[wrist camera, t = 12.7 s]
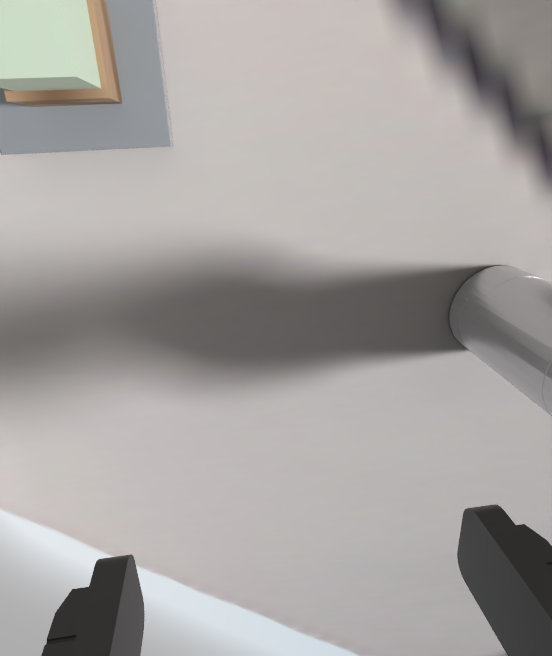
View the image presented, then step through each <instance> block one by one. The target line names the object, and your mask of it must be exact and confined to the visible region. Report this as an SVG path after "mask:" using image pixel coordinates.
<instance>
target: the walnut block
mask: <svg viewBox="0 0 552 656" xmlns="http://www.w3.org/2000/svg"><path fill="white" fill-rule="evenodd" d="M86 1H87V7H88V13H89V19H90V25H91V31H92V36H93V42H94V48H95V54H96V60H97V66H98V72H99V78H100V84H101V89H74V90H44V91H11V90H7V89H4V93H5V97H6V101H7V102H11V103H16V104H22V105H27V106H33V107H45V106H71V105H97V104H122V97H121V91H120V84H119V78H118V71H117V65H116V59H115V52H114V46H113V40H112V33H111V27H110V20H109V14H108V8H107V3H106V2H105V0H86Z"/></svg>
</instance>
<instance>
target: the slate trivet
mask: <svg viewBox="0 0 552 656" xmlns="http://www.w3.org/2000/svg"><path fill="white" fill-rule="evenodd" d="M105 2H106V3H107V8H108V14H109V20H110V27H111V33H112V40H113V46H114V52H115V59H116V65H117V71H118V78H119V84H120V91H121V97H122V104H97V105H71V106H45V107H33V106H27V105H22V104H16V103H11V102H7V101H6V97H5V93H4V89H3V88H0V151H1V155H7V154H27V153H47V152H67V151H87V150H107V149H127V148H147V147H167V146H173V140H172V132H171V123H170V115H169V107H168V99H167V91H166V82H165V74H164V66H163V58H162V50H161V42H160V33H159V25H158V17H157V9H156V1H155V0H105Z"/></svg>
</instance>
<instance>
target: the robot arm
mask: <svg viewBox="0 0 552 656" xmlns="http://www.w3.org/2000/svg"><path fill="white" fill-rule="evenodd" d="M449 322H450V327H451V330H452V332H453V334H454V336H455V338H456V339H457V340H458V341H459V342H460V343H461V344H462V345H464V346H465V347H466V348H467V349H469V350H470V351H471V352H472V353H474V354H475V355H476V356H477V357H479V358H480V359H481V360H482V361H483V362H485V363H486V364H487V365H488V366H490V367H491V368H492V369H493V370H495V371H496V372H497V373H498V374H500V375H501V376H502V377H503V378H505V379H506V380H507V381H508V382H510V383H511V384H512V385H513V386H515V387H516V388H517V389H518V390H520V391H521V392H522V393H523V394H525V395H526V396H527V397H528V398H530V399H531V400H532V401H533V402H535V403H536V404H537V405H538V406H540V407H541V408H542V409H543V410H545V411H546V412H547V413H548V414H550V415H551V416H552V283H551V282H548V281H546V280H544V279H541V278H539V277H536V276H533V275H531V274H528V273H526V272H523V271H521V270H518V269H516V268H514V267H510V266H504V265H503V266H493V267H489V268H486V269H484V270H482V271H480V272H478V273H476V274H474V275H473V276H472V277H470V278H469V279H468V280H467V281H466V282H465V283H464V284H463V285H462V286H461V287H460V289H459V290H458V292H457V294H456V295H455V297H454V300H453V302H452V304H451V309H450V313H449ZM457 556H458V564H459V568H460V571H461V574H462V577H463V579H464V581H465V583H466V584H467V586H468V588H469V590H470V591H471V593H472V595H473V596H474V598H475V600H476V602H477V603H478V605H479V607H480V608H481V610H482V612H483V614H484V615H485V617H486V619H487V620H488V622H489V624H490V626H491V627H492V629H493V631H494V632H495V634H496V636H497V638H498V639H499V641H500V643H501V645H502V646H503V648H504V650H505V651H506V653H507V655H508V656H552V546H551V545H550V544H549V542H548V541H547V540H546V539H544V538H543V537H541V536H540V535H539V534H537V533H536V532H534V531H533V530H532V529H530V528H529V527H527V526H526V525H525V524H523V525H515V524H514V522H513V521H512V520H511V519H510V517H509V516H508V515H507V514H506V512H505V511H504V510H503V509H502V508H501V507H500V506H498V505H488V506H481V507H474V508H467V509H465V511H464V513H463V519H462V526H461V532H460V539H459V546H458V554H457ZM143 630H144V602H143V596H142V592H141V587H140V583H139V578H138V574H137V569H136V565H135V560H134V557H133V555H125V556H118V557H111V558H104V559H99V560H98V561H97V562H96V564H95V567H94V571H93V575H92V579H91V583H90V586H89V587H85V588H78V589H72V591H71V592H70V593H69V595H68V596H67V598H66V599H65V601H64V602H63V603H62V605H61V606H60V607H59V609H58V610H57V612H56V613H55V616H54V619H53V622H52V625H51V628H50V631H49V634H48V637H47V644H46V645H45V646H44V650H43V653H42V656H140V653H141V646H142V638H143Z"/></svg>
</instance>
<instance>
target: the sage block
mask: <svg viewBox="0 0 552 656" xmlns="http://www.w3.org/2000/svg"><path fill="white" fill-rule="evenodd" d="M0 88H3V89H7V90H11V91H44V90H74V89H101V84H100V78H99V72H98V66H97V60H96V54H95V48H94V42H93V36H92V31H91V25H90V19H89V13H88V7H87V1H86V0H0Z"/></svg>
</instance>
